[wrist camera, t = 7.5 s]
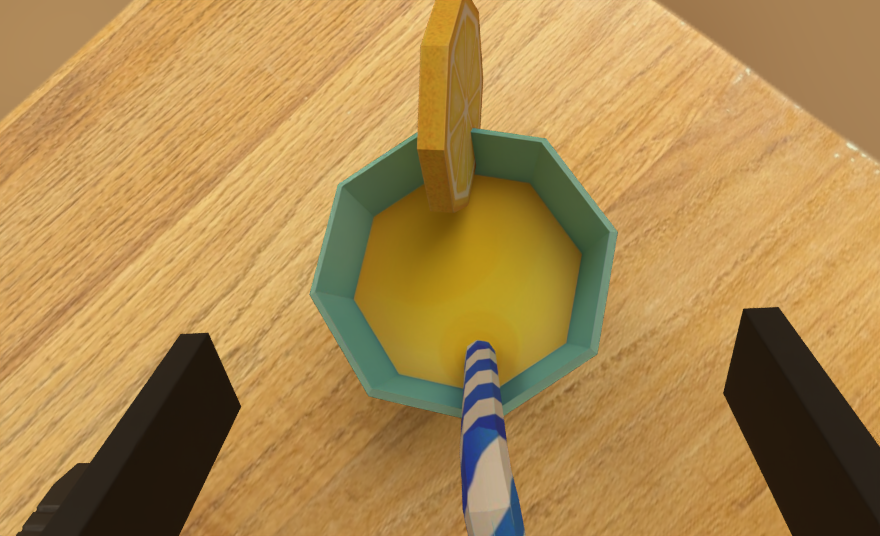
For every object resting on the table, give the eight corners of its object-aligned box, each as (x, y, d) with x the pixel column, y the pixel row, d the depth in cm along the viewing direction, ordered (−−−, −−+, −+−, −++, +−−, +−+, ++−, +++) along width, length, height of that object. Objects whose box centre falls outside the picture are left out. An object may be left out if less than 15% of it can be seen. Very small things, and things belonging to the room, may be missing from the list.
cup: (617, 490, 22) (831, 717, 7) (426, 520, 22) (263, 785, 8) (541, 164, 25) (581, -144, 10) (374, 200, 25) (189, -39, 11)
